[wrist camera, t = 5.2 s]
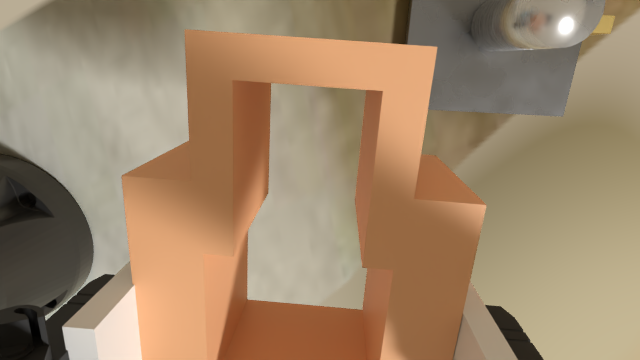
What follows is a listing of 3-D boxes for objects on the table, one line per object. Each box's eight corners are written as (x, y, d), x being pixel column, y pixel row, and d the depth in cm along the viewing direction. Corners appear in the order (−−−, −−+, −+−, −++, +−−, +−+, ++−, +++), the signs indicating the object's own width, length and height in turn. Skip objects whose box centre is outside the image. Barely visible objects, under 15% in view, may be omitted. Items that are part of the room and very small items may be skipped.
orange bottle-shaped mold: (402, 351, 16) (428, 469, 12) (203, 333, 17) (148, 441, 12) (452, 56, 13) (520, 52, 8) (192, 38, 13) (105, 24, 8)
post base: (397, 106, 28) (426, 126, 20) (418, -76, 25) (463, -147, 16) (555, 114, 28) (652, 138, 20) (599, -68, 25) (742, -136, 16)
